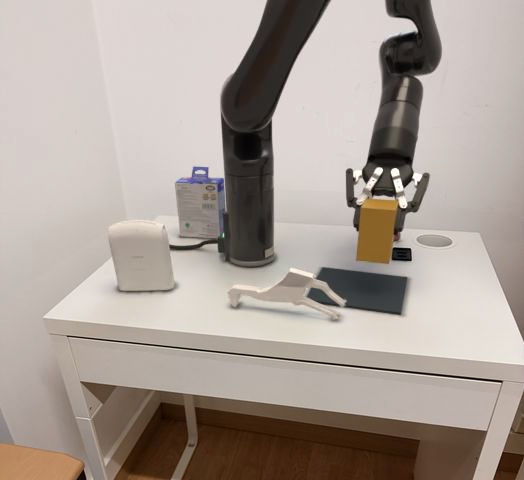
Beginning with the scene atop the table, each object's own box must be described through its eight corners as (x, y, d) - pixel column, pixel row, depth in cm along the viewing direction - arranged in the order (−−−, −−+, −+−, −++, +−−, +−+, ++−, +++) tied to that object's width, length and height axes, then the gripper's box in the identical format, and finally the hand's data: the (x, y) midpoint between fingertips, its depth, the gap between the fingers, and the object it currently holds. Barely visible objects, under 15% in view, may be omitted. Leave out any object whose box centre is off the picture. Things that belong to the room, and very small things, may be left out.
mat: (304, 301, 82) (305, 299, 82) (322, 268, 93) (322, 266, 93) (400, 314, 78) (400, 312, 78) (407, 279, 89) (407, 277, 89)
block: (355, 260, 80) (360, 207, 75) (360, 249, 84) (365, 198, 79) (388, 264, 79) (396, 210, 74) (392, 252, 83) (399, 200, 78)
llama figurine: (320, 344, 82) (227, 297, 82) (351, 292, 75) (249, 240, 75) (318, 350, 81) (223, 302, 81) (350, 297, 74) (246, 245, 74)
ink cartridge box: (228, 231, 111) (224, 166, 103) (221, 239, 107) (217, 172, 99) (187, 228, 113) (181, 164, 105) (179, 237, 109) (172, 170, 101)
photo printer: (115, 292, 86) (101, 225, 79) (121, 282, 90) (108, 217, 83) (172, 292, 86) (163, 225, 79) (176, 281, 89) (168, 216, 82)
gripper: (350, 123, 79) (331, 217, 77) (441, 125, 76) (424, 225, 73) (352, 150, 87) (335, 237, 84) (436, 154, 83) (420, 245, 80)
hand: (377, 231), depth 78 cm, fingers closed on block, 5 cm apart
